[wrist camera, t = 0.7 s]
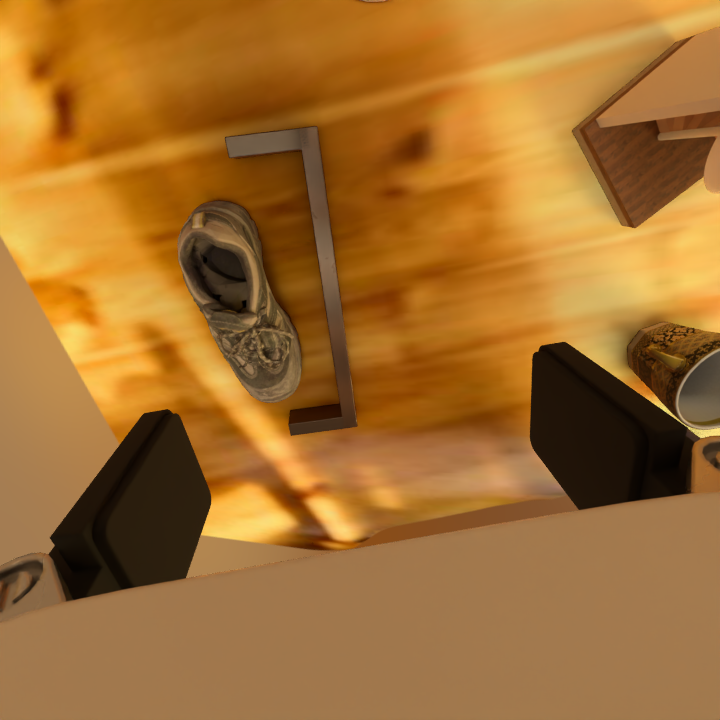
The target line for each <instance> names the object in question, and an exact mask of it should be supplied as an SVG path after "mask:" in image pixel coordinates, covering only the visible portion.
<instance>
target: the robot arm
mask: <svg viewBox="0 0 720 720" xmlns="http://www.w3.org/2000/svg"><path fill="white" fill-rule="evenodd" d="M361 1H366V2H379V1H386V0H361ZM687 429H688V428H687V427H686V426H684V425H683V424H681V423H680V422H679V421H677V420H676V419H674V418H673V417H672V416H670V415H669V414H667V413H666V412H664V411H663V410H662V409H660V408H659V407H657V406H656V405H654V404H653V403H652V402H650V401H649V400H647V399H646V398H645V397H643V396H642V395H640V394H639V393H637V392H636V391H635V390H633V389H632V388H630V387H629V386H627V385H626V384H625V383H623V382H622V381H620V380H619V379H617V378H616V377H615V376H613V375H612V374H610V373H609V372H608V371H606V370H605V369H603V368H602V367H600V366H599V365H598V364H596V363H595V362H593V361H592V360H590V359H589V358H588V357H586V356H585V355H583V354H582V353H580V352H579V351H578V350H576V349H575V348H573V347H572V346H571V345H569V344H568V343H566V342H560V343H554V344H548V345H542V346H541V347H540V348H539V351H538V352H535V353H534V354H533V359H532V389H531V420H530V441H531V445H532V447H533V449H534V451H535V452H536V454H537V455H538V456H539V458H540V459H541V460H542V462H543V463H544V464H545V465H546V467H547V468H548V469H549V471H550V472H551V473H552V475H553V476H554V477H555V479H556V480H557V481H558V483H559V484H560V485H561V487H562V488H563V489H564V491H565V492H566V493H567V495H568V496H569V497H570V499H571V500H572V501H573V503H574V504H575V505H576V506H577V508H578V509H579V510H577V511H572V512H566V513H560V514H554V515H548V516H542V517H536V518H530V519H524V520H518V521H512V522H506V523H500V524H495V525H488V526H483V527H477V528H471V529H465V530H460V531H455V532H448V533H442V534H437V535H431V536H425V537H420V538H414V539H408V540H402V541H397V542H391V543H385V544H379V545H373V546H368V547H362V548H356V549H350V550H345V551H339V552H333V553H327V554H321V555H316V556H310V557H305V558H298V559H293V560H287V561H281V562H275V563H269V564H264V565H258V566H252V567H247V568H241V569H236V570H230V571H224V572H219V573H213V574H208V575H202V576H196V577H191V578H186V576H187V573H188V570H189V567H190V564H191V561H192V558H193V556H194V552H195V550H196V547H197V544H198V541H199V538H200V535H201V532H202V529H203V526H204V524H205V521H206V518H207V515H208V512H209V509H210V506H211V494H210V490H209V488H208V485H207V483H206V480H205V478H204V475H203V473H202V470H201V468H200V465H199V463H198V460H197V458H196V455H195V453H194V450H193V448H192V445H191V443H190V440H189V438H188V435H187V433H186V430H185V428H184V425H183V423H182V420H181V418H180V416H179V415H178V414H176V413H175V414H173V413H172V412H171V411H170V410H168V409H166V410H161V411H155V412H149V413H144V414H143V415H142V416H141V417H140V419H139V420H138V421H137V423H136V424H135V425H134V427H133V428H132V429H131V431H130V432H129V433H128V435H127V436H126V437H125V439H124V440H123V441H122V443H121V444H120V445H119V447H118V448H117V449H116V451H115V452H114V453H113V455H112V456H111V457H110V459H109V460H108V461H107V463H106V464H105V465H104V467H103V468H102V469H101V471H100V472H99V473H98V474H97V476H96V477H95V478H94V480H93V481H92V483H91V484H90V485H89V487H88V488H87V489H86V491H85V492H84V493H83V494H82V496H81V497H80V498H79V500H78V501H77V502H76V504H75V505H74V506H73V508H72V509H71V510H70V512H69V513H68V514H67V516H66V517H65V518H64V520H63V521H62V522H61V524H60V525H59V526H58V527H57V529H56V530H55V532H54V533H53V534H52V535H51V537H50V539H51V540H52V542H53V543H54V545H55V546H54V548H53V549H52V550H51V552H50V553H49V554H45V553H31V554H27V555H24V556H21V557H18V558H15V559H13V560H11V561H9V562H7V563H5V564H3V565H1V566H0V720H720V436H709V437H705V438H701V439H700V440H698V441H697V442H694V441H693V440H691V439H690V438H689V437H687V436H686V433H687Z"/></svg>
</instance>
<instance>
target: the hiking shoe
mask: <svg viewBox="0 0 720 720" xmlns="http://www.w3.org/2000/svg"><path fill="white" fill-rule="evenodd" d="M178 260H179V263H180V266H181V269H182V272H183V277H184V280H185V283H186V285H187V287H188V290H189V292H190V293H191V295H192V296H193V298H194V301H195V302H196V304H197V305H198V307H199V308H200V311H201V312H202V313H203V314H204V316H205V318H206V320H207V322H208V325H209V329H210V331H211V334H212V335H213V337H214V339H215V341H216V343H217V345H218V347H219V349H220V350H221V352H222V354H223V355H224V358H225V359H226V360H227V361H228V362H229V364H230V366H231V367H232V369H233V371H234V373H235V375H236V376H237V378H238V379H239V381H240V382H241V383H242V385H243V386H244V387H245V389H246V390H247V391H248V392H249V393H250V395H251V396H253V397H254V398H256V399H257V400H259V401H262V402H267V403H273V402H279V401H282V400H284V399H286V398H288V397H289V396H291V395H292V394H293V393H294V392H295V390H296V389H297V387H298V384H299V382H300V377H301V367H302V365H301V354H300V352H301V348H300V343H299V340H298V338H297V337H298V334H297V331H296V329H295V327H294V326H293V325H292V324H291V322H290V317H289V316H288V315H287V313H286V312H285V311H284V310H283V309H282V308H281V307H280V305H279V304H278V303H277V302H276V300H275V299H274V297H273V294H272V292H271V289H270V287H269V284H268V281H267V278H266V275H265V272H264V269H263V257H262V245H261V241H260V240H258V231H257V227H256V225H255V222H254V221H253V220H250V217H249V214H248V213H247V211H246V210H245V209H244V208H242V207H241V206H239V205H236V204H233V203H231V202H227V201H213V202H209V203H204V204H202V205H200V206H199V207H197V208H196V209H195V210H194V211H193V212H192V214H191V215H190V216H189V218H188V220H187V222H186V223H185V224H184V226H183V228H182V230H181V232H180V235H179V238H178Z"/></svg>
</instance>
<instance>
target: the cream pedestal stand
mask: <svg viewBox="0 0 720 720" xmlns="http://www.w3.org/2000/svg"><path fill="white" fill-rule="evenodd" d="M572 132H573V134H574V135H575V137H576V139H577V141H578V143H579V145H580V147H581V149H582V151H583V153H584V154H585V156H586V158H587V160H588V162H589V164H590V166H591V168H592V170H593V172H594V173H595V175H596V177H597V179H598V181H599V183H600V185H601V187H602V189H603V190H604V192H605V194H606V196H607V198H608V200H609V202H610V204H611V206H612V208H613V209H614V211H615V213H616V215H617V217H618V219H619V221H620V223H621V225H622V226H627V227H632V228H636V227H638V226H639V225H640V224H641V223H643V222H644V221H645V220H647V219H648V218H649V217H651V216H652V215H653V214H655V213H656V212H657V211H659V210H660V209H661V208H663V207H664V206H665V205H667V204H668V203H669V202H671V201H672V200H673V199H674V198H676V197H677V196H678V195H680V194H681V193H682V192H684V191H685V190H686V189H688V188H689V187H690V186H692V185H693V184H694V183H696V182H697V181H698V180H700V179H701V178H702V177H703V176H704V183H705V186H706V188H707V190H708V191H710V192H711V193H718V194H720V27H717V28H714V29H711V30H708V31H706V32H703V33H700V34H697V35H694V36H692V37H689V38H686V39H683V40H680V41H678V42H676V43H675V44H673V45H672V46H671V47H670V48H669V49H668V50H666V51H665V52H664V53H663V54H662V55H661V56H659V57H658V58H657V59H656V60H655V61H653V62H652V63H651V64H650V65H649V66H648V67H646V68H645V69H644V70H643V71H642V72H641V73H639V74H638V75H637V76H636V77H635V78H633V79H632V80H631V81H630V82H629V83H628V84H626V85H625V86H624V87H623V88H622V89H621V90H619V91H618V92H617V93H616V94H615V95H613V96H612V97H611V98H610V99H609V100H608V101H606V102H605V103H604V104H603V105H602V106H601V107H599V108H598V109H597V110H596V111H595V112H593V113H592V114H591V115H590V116H589V117H588V118H586V119H585V120H584V121H583V122H582V123H580V124H579V125H578V126H577V127H576V128H575V129H573V130H572Z"/></svg>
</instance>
